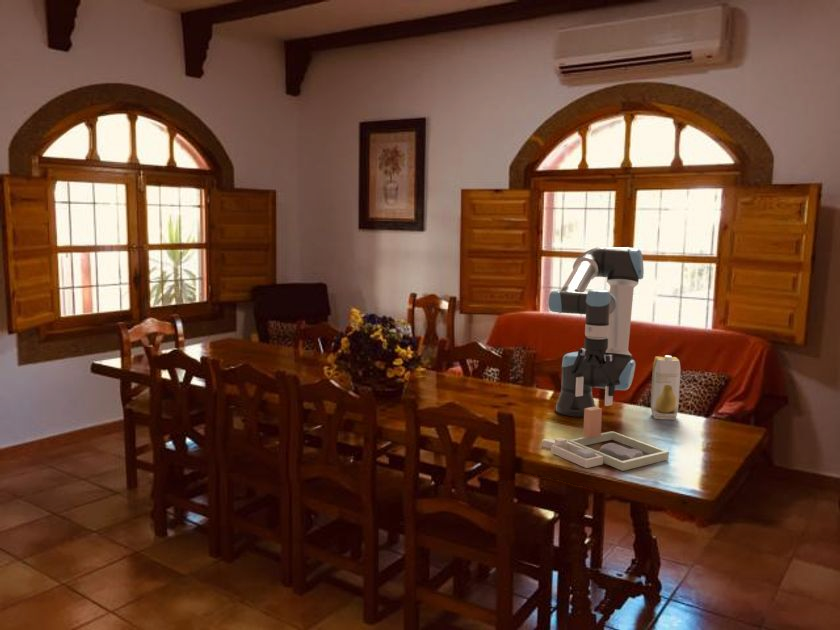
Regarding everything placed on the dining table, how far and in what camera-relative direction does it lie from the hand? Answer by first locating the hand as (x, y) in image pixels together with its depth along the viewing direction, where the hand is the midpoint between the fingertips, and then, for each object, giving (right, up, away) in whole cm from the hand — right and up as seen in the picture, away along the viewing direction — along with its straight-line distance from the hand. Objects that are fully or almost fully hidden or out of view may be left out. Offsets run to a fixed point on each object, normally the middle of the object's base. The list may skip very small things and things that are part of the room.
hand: (593, 400), depth 239 cm
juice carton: (+35, -11, +34) cm, 50 cm away
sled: (-8, -17, -12) cm, 22 cm away
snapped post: (-14, -15, -1) cm, 21 cm away
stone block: (+7, -17, -10) cm, 21 cm away
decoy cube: (-6, -18, -15) cm, 24 cm away
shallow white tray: (+6, -16, -7) cm, 19 cm away
